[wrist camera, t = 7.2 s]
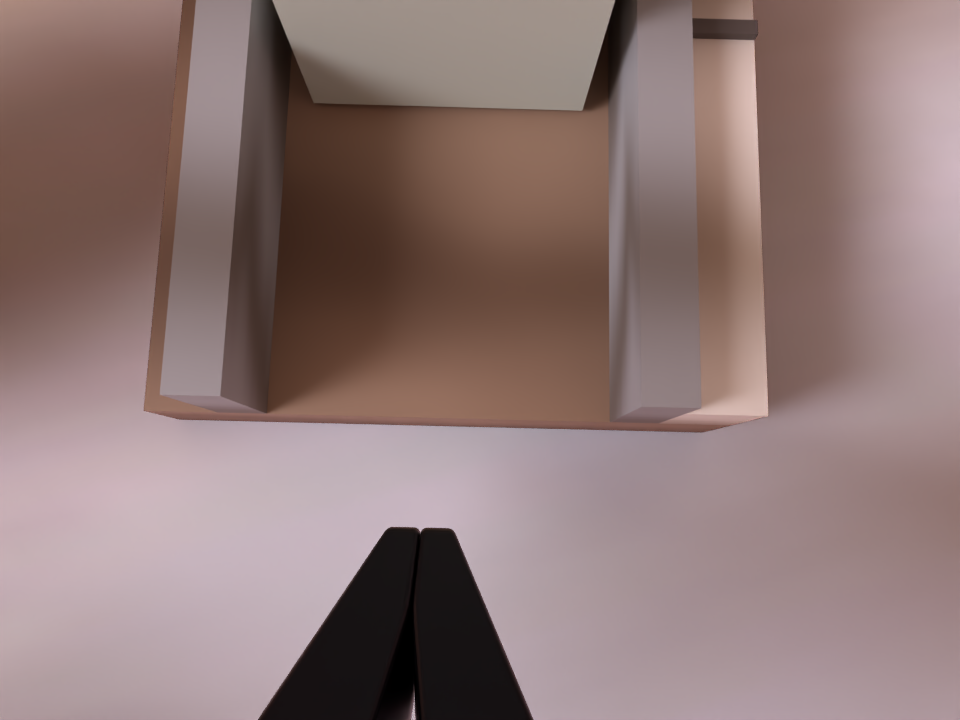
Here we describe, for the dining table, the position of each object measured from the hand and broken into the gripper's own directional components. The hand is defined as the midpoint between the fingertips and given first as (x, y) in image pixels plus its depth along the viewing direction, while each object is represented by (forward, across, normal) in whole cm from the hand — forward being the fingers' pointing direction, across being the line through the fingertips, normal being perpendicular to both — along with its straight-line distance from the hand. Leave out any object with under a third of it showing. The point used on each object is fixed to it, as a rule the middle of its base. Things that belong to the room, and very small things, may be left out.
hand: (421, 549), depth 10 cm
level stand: (+13, 0, -3) cm, 14 cm away
